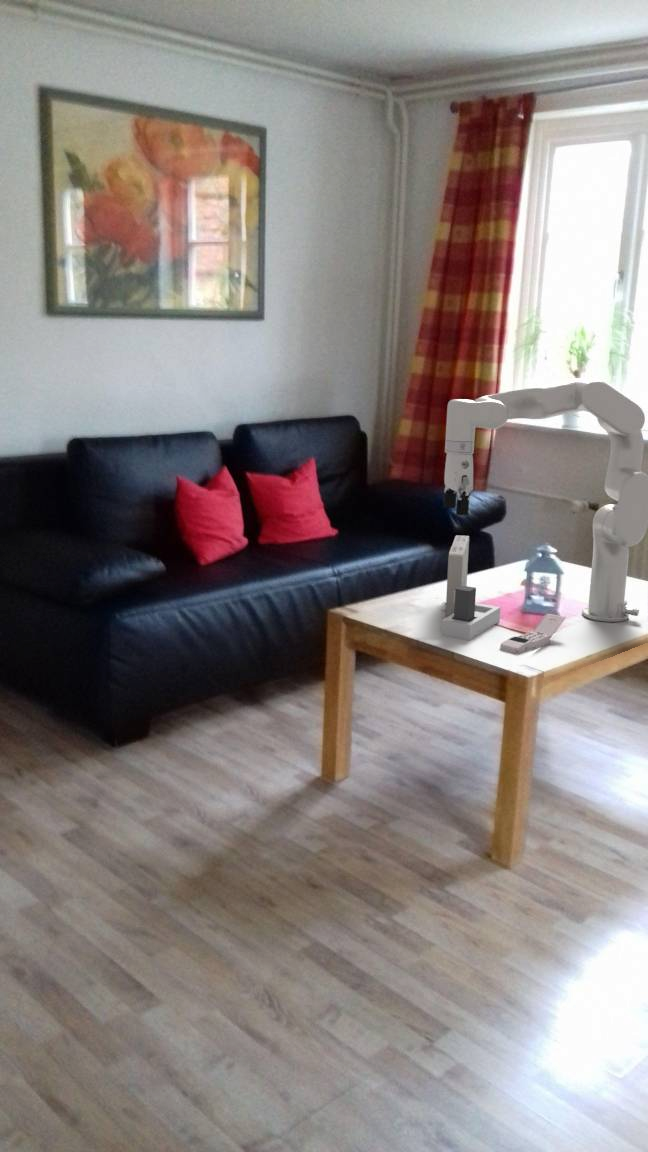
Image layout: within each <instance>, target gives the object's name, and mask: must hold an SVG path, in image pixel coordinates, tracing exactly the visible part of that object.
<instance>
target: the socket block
mask: <svg viewBox="0 0 648 1152" xmlns="http://www.w3.org/2000/svg"><path fill="white" fill-rule="evenodd" d="M501 609H502V608H501V606H495V605H492V604H490V605H489V604H485V603H480V602H479V603H478V602H475V615H474V620H472V621H471V622H466V621H460V620H455V619H454V613H453V614H452V615H450V616H448V617H446V616H445V617H444V618H442V620H441V630H440V634H441V636H445V637H451V638H454V639H455V638H456V639H460V640H466V641H471V640H473V639H474V638H476V637H477V636H479V635H480V634H482V633H484V632H485V631H487V630H489V629H490V628H492V627H493V626H495V625H497V624H498V623H500V621H501V620H500V619H501Z"/></svg>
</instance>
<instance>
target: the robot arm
mask: <svg viewBox="0 0 648 1152" xmlns="http://www.w3.org/2000/svg"><path fill="white" fill-rule="evenodd" d="M446 409H447V410H446V425H445V426H446V427H445V444H444V445H445V446H444V453H446V456H445V466H444V467H445V468H444V478H443V480H444V484H443V485H444V490H443V492H444V493H443V495H444V496H443V508H444V509H455V508H456V509H455V510H456V511H455V515H457V516H468V515H469V510H470V509H469V506H470V505H469V504H470V498H471V497H470V496H471V492H472V491H473V490H474V457H473V454H474V451H475V440H476V439H475V438H476V437H475V436H476V428H480V429H481V428H482V429H486V430H497V429H500V428H502V427H503V426H504V425H506V424H507V422H508V420H515V419H529V420H544V419H549V418H554V417H558V416H562V415H567V414H572V413H573V414H574V413H578V412H587V413H590V414H592V415H593V416H594V417H596V418H597V422H598V424H599V426H600V427H601V428H602V429H604V431H605V432H606V433H607V434H608V437H609V440H610V456H609V459H608V460H609V461H608V467H607V469H606V476H605V481H604V491H605V493H606V495H607V496H608V497H609V498H611V499H612V500H615V501H617V504H615V503H614V504H613V503H611V504H605V505H603V506H601V507H600V508H599V509H598V510H597V511H596V512H595V514H594V516H593V519H592V537H593V550H592V551H593V552H592V561H591V563H592V564H591V571H590V573H591V575H590V585H589V594H588V595H589V598H588V606H587V607H583V609H582V610H581V611H582V613H581V614H582V615H583V617H585V618H588V619H590V620H594V621H599V622H605V623H606V622H607V623H618V622H624V621H627V620H628V619H629V616H635V617H638V616H639V613H640V609H639V608H638V607H636V606H629V605H628V600H625V597H626V596H625V595H626V587H627V586H626V585H627V577H628V576H627V575H628V574H627V573H628V565H629V557H630V554H629V552H630V551H629V547H633V546H636V545H637V544H639V543H640V542H641V541H642V540H643V538H644V537H645V535H646V533H647V530H648V474H647V473H645V472H644V471H642V464H643V463H642V462H643V457H644V448H645V444H644V442H645V441H644V436H643V432H642V429H643V427H644V425H645V423H646V420H645V419H646V417H645V413H644V411H643V409H642V408H641V407H640V405H639V404H637V403H636V402H634V401H632V400H631V399H630V398H628V397H626V396H625V395H624V394H622V392H621V393H620V391H619V390H617V389H615V388H613V387H612V386H611V385H609V384H607V383H606V382H604V381H603V380H600V379H595V378H589V377H580V378H579V377H578V378H574V379H570V380H565V381H560V382H556V383H551V384H545V385H539V386H534V387H528V388H522V389H515V390H511V391H505V392H504V391H503V392H499V393H498V392H497V393H494V394H488V395H484V396H480V397H478V398H475V399H474V400H473V399H465V398H464V399H462V398H458V399H457V398H456V399H455V398H454V399H450V400H449V401H448V403H447V408H446ZM456 498H458V499H456Z"/></svg>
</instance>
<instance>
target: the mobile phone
mask: <svg viewBox="0 0 648 1152" xmlns="http://www.w3.org/2000/svg"><path fill="white" fill-rule="evenodd" d="M566 619H567V617H566V616H561V615H557V614H553V613H548V612H547V613H545V615H543V617H542V618H541V620H540V621H539V623H538V624H537V625H536V627H535V628H534V629H533V631H530V632H526V633H524V634H520V635H517V636H513V637H512V636H511V637H510V638H507V639H506V640H504V641H502V642H501V643H500V647H499V648H500V650H501V651H506V652H508V653H509V652H510V653H513V654H521V653H524V652H526V651H528V650H530V651H529V652H533V651H536V650H538V649H540V648H542V647H544V646H547V645H548V644H549V643H550V640H551V638H552V637H553V635H554V634H555V633H556V632H557V630H558V629H559V627H561V625H562V624H563V622H564V621H565V620H566ZM531 649H532V650H531Z"/></svg>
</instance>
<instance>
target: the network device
mask: <svg viewBox="0 0 648 1152" xmlns="http://www.w3.org/2000/svg"><path fill="white" fill-rule="evenodd" d="M469 545H470V536H469V535H455V536H454V539H453V542H452V545H451V546H450V549H449V552H448V559H447V561H448V562H447V581H446V582H447V583H446V597H445V598H446V599H445V601H444V602H442V603H441V606H443V607H445V618H446V617H448V616H450V615H452V614H453V613H454V607H455V603H454V591H455V589H456V588H458V587H460V586H468V585H467V583H468V582H467V581H468V565H469V564H468V563H469V548H470V547H469Z"/></svg>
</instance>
